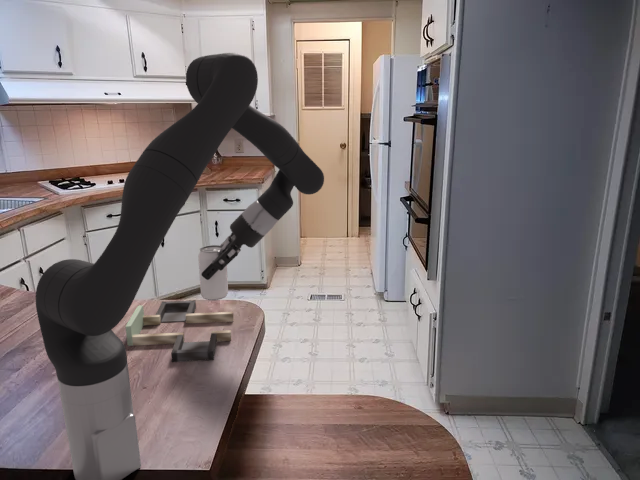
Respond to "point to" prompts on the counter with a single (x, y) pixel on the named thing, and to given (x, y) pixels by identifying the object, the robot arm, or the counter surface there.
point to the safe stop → (135, 324)
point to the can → (218, 282)
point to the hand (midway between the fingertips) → (206, 271)
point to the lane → (181, 349)
